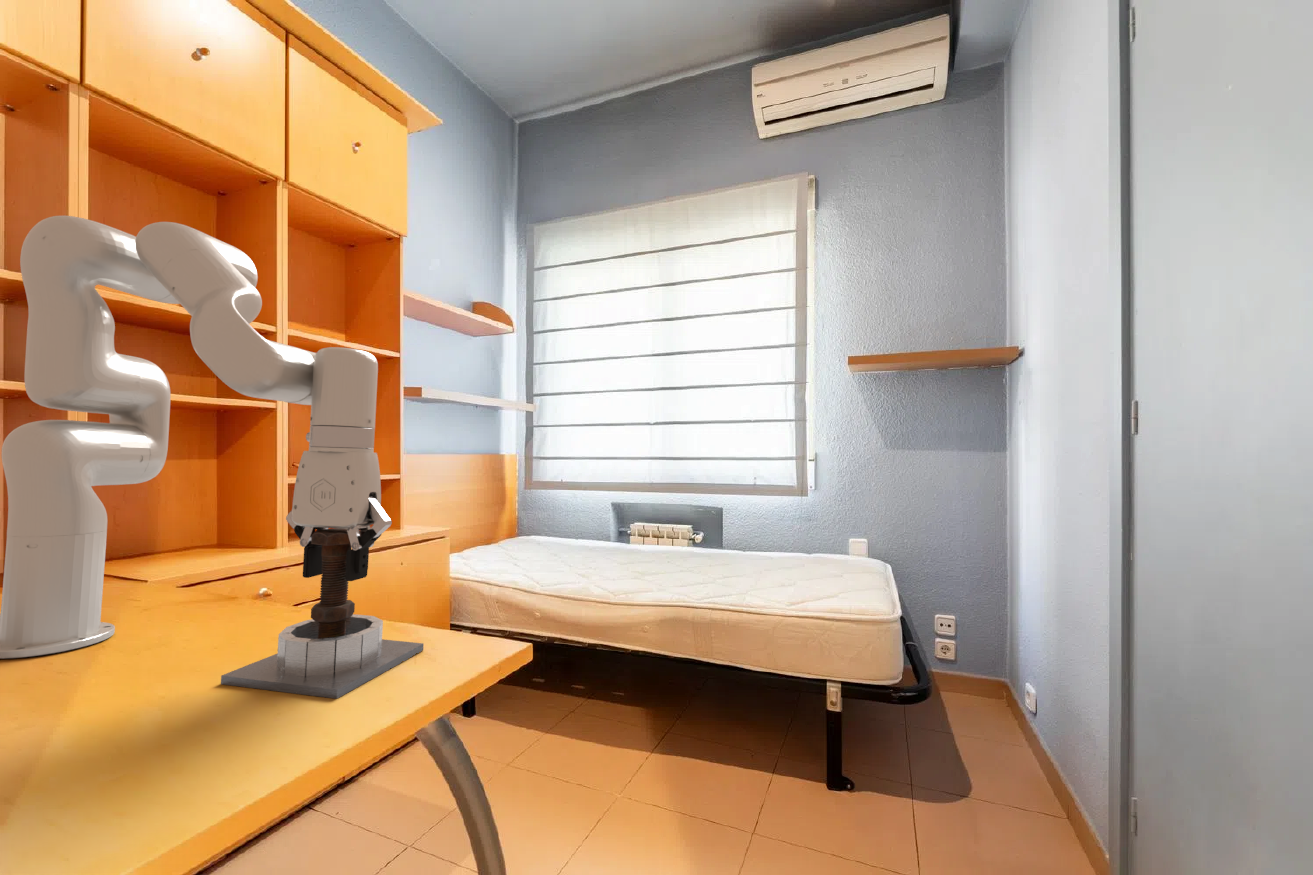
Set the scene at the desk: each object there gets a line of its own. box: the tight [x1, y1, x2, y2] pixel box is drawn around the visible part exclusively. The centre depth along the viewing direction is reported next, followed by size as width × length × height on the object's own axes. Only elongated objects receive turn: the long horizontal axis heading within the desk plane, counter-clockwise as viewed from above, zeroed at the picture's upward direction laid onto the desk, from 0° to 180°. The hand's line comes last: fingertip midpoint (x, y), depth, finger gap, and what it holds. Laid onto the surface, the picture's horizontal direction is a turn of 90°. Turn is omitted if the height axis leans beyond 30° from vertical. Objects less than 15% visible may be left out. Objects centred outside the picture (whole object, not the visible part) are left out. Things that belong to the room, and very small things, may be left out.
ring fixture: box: [220, 613, 424, 700], centre depth 70 cm, size 16×16×5 cm
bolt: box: [310, 528, 361, 639], centre depth 71 cm, size 6×5×15 cm
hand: (335, 575), depth 71 cm, fingers closed on bolt, 5 cm apart
